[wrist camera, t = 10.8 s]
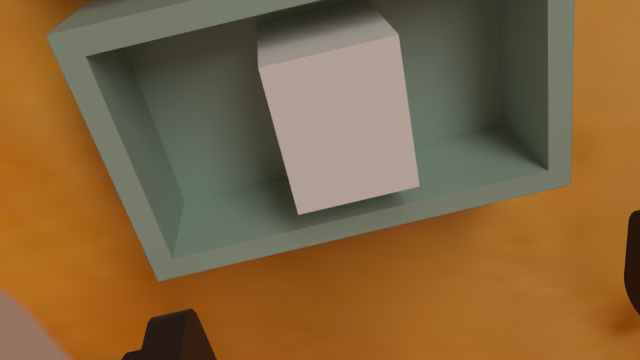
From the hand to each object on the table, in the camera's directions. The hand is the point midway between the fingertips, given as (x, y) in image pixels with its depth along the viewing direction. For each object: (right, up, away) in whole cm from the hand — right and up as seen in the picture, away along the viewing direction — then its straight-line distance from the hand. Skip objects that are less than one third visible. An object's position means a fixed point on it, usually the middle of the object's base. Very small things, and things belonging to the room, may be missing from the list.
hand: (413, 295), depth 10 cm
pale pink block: (-2, +6, +11) cm, 12 cm away
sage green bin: (-2, +6, +12) cm, 14 cm away
